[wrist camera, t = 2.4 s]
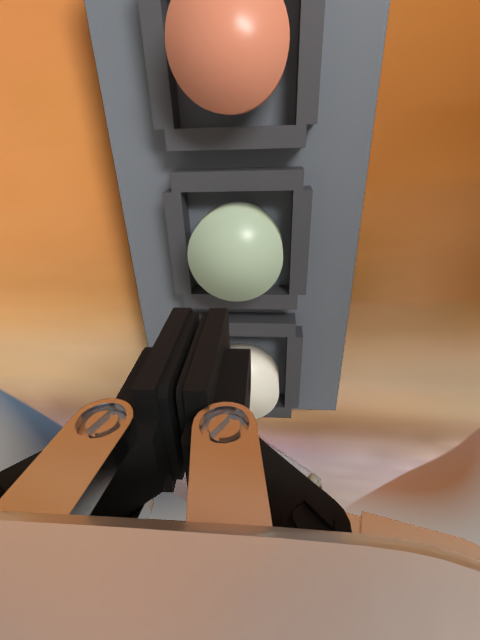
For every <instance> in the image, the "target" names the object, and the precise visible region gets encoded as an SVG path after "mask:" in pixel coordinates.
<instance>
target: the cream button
mask: <svg viewBox="0 0 480 640" xmlns="http://www.w3.org/2000/svg"><path fill="white" fill-rule="evenodd" d="M230 348H237V349H250V350H251V396H250V411H251V412H252V413H253V414H254V417H255V419H258V418H261V417H263V416H265V415H266V414H268V413H269V412H270V411H271V410H272V409H273V408H274V407H275V405H276V403H277V401H278V398H279V372H278V366H277V364H276V362H275V360H274V359H273V357H272V356H271V355H270V354H269V353H268V352H267V351H265V350H264V349H262V348H260V347H258V346H256V345H252V344H248V343H234V344H230Z"/></svg>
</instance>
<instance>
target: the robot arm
mask: <svg viewBox="0 0 480 640" xmlns="http://www.w3.org/2000/svg"><path fill="white" fill-rule="evenodd" d="M250 396H251V350H250V349H237V348H230V334H229V314H228V308H210V309H209V311H208V312H203V314H202V316H201V319H199V313H198V312H193V310H192V308H173V309H172V311H171V313H170V315H169V317H168V319H167V320H166V322H165V324H164V326H163V328H162V330H161V332H160V334H159V336H158V337H157V339H156V341H155V343H154V345H153V347H146V348H144V350H143V351H142V353H141V355H140V356H139V358H138V360H137V362H136V364H135V365H134V367H133V369H132V371H131V372H130V374H129V376H128V378H127V380H126V381H125V383H124V385H123V387H122V388H121V390H120V392H119V394H118V395H117V397H116V399H109V398H108V399H103V400H98V401H96V402H93V403H90V404H88V405H87V406H85V407H83V408H81V409H80V410H79V411H78V412H77V413H76V414H75V415H74V416H73V417H72V418H71V419H70V420H69V421H68V422H67V423H66V425H65V426H64V427H63V428H62V429H61V430H60V431H59V433H58V434H57V435H56V436H55V437H54V438H53V439H52V440H51V442H50V443H49V444H48V445H47V446H46V447H45V448H44V450H42V451H40V452H39V453H37V454H34V455H32V456H30V457H28V458H27V459H24V460H23V461H20V462H19V463H16V464H15V465H13V466H11V467H9V468H7V469H5V470H3V471H1V472H0V640H480V546H478V545H477V544H474V543H472V542H470V541H467V540H465V539H463V538H459V537H456V536H452V535H448V534H444V533H440V532H437V531H433V530H429V529H426V528H422V527H418V526H415V525H411V524H407V523H403V522H400V521H396V520H392V519H389V518H385V517H381V516H378V515H373V514H370V513H366V512H362V515H361V516H357V515H353V514H349V513H346V512H345V511H344V509H343V508H342V507H341V506H340V505H339V504H338V503H337V502H336V501H335V500H334V499H333V498H332V497H330V496H329V495H328V494H327V493H326V492H324V491H323V490H322V489H321V488H320V487H318V486H317V485H316V484H315V483H314V482H312V481H311V480H310V479H309V478H308V477H306V476H305V475H304V474H303V473H301V472H300V471H299V470H298V469H297V468H295V467H294V466H293V465H292V464H291V463H289V462H288V461H287V460H286V459H285V458H283V457H282V456H281V455H280V454H279V453H277V452H276V451H275V450H274V449H272V448H271V447H270V446H269V445H268V444H266V443H265V442H264V441H263V440H262V439H260V438H259V436H258V430H257V423H256V419H255V417H254V414H253V413H252V412H251V411H250ZM185 472H186V479H187V485H188V499H187V516H186V521H175V520H157V519H148V518H149V516H150V514H151V511H152V507H153V498H154V497H156V496H157V495H158V494H160V493H161V492H173V491H174V487H175V483H176V480H177V479H181V480H182V479H183V477H184V474H185Z"/></svg>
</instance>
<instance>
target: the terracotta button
mask: <svg viewBox="0 0 480 640" xmlns="http://www.w3.org/2000/svg"><path fill="white" fill-rule="evenodd" d="M289 42H290V27H289V20H288V14H287V10H286V6H285V4H284V1H283V0H171V1H170V4H169V8H168V11H167V16H166V22H165V47H166V54H167V58H168V62H169V65H170V68H171V71H172V73H173V75H174V77H175V79H176V81H177V83H178V84H179V86H180V87H181V89H182V90H183V91H184V93H185V94H186V95H187V96H188V97H189V98H190V99H191V100H192V101H193V102H195V103H196V104H198V105H199V106H200V107H202V108H204V109H206V110H209V111H211V112H214V113H219V114H225V115H239V114H244V113H247V112H250V111H252V110H254V109H256V108H257V107H259V106H260V105H262V104H263V103H264V102H265V101H266V100H267V99H268V98H269V97H270V96H271V95H272V93H273V92H274V91H275V89H276V88H277V86H278V84H279V82H280V80H281V78H282V75H283V72H284V69H285V66H286V61H287V56H288V51H289Z"/></svg>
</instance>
